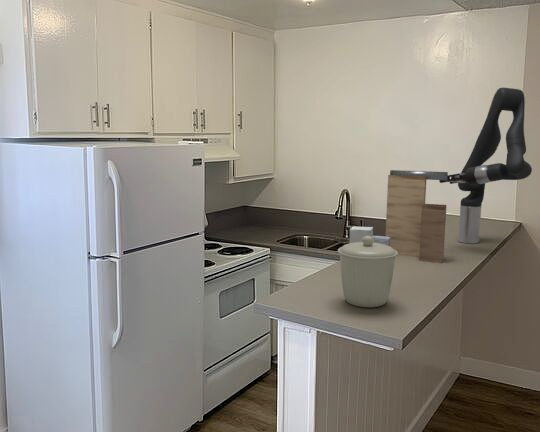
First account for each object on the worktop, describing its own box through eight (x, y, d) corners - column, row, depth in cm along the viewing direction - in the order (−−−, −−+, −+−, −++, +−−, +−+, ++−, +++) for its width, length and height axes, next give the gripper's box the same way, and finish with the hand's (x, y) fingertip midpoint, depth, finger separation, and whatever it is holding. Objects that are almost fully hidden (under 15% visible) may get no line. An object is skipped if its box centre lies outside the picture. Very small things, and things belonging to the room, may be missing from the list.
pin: (391, 177, 238) (391, 169, 238) (447, 180, 230) (447, 171, 230) (389, 178, 235) (390, 170, 234) (446, 180, 227) (447, 172, 227)
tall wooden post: (420, 256, 233) (423, 203, 229) (443, 258, 230) (446, 204, 226) (419, 260, 227) (421, 205, 223) (442, 262, 224) (445, 207, 220)
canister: (403, 311, 165) (406, 241, 162) (343, 312, 164) (345, 242, 160) (385, 293, 183) (388, 230, 179) (331, 294, 181) (333, 230, 178)
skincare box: (372, 266, 217) (374, 226, 215) (370, 270, 211) (371, 230, 209) (351, 264, 220) (352, 225, 217) (348, 268, 214) (349, 228, 211)
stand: (387, 250, 245) (390, 173, 240) (422, 252, 240) (426, 175, 235) (384, 253, 239) (388, 175, 233) (420, 256, 234) (425, 176, 228)
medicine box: (390, 257, 232) (390, 236, 231) (387, 259, 228) (388, 238, 227) (371, 255, 235) (372, 235, 234) (368, 257, 231) (369, 237, 230)
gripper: (486, 167, 239) (452, 173, 251) (470, 165, 229) (435, 171, 241) (488, 184, 238) (453, 190, 250) (472, 183, 228) (437, 188, 240)
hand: (444, 181), depth 245 cm, fingers open, 8 cm apart
